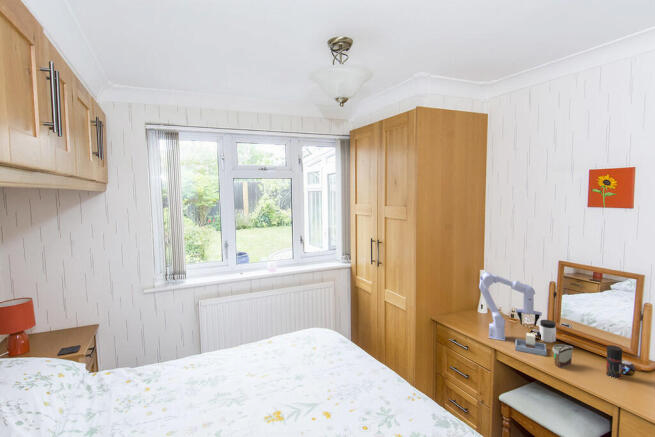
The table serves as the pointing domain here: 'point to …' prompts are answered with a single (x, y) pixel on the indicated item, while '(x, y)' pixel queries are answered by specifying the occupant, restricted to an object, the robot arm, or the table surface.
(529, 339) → the white cube
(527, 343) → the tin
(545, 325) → the jar
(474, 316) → the table surface
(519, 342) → the tote
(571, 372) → the table surface
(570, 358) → the food container
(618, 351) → the deodorant
